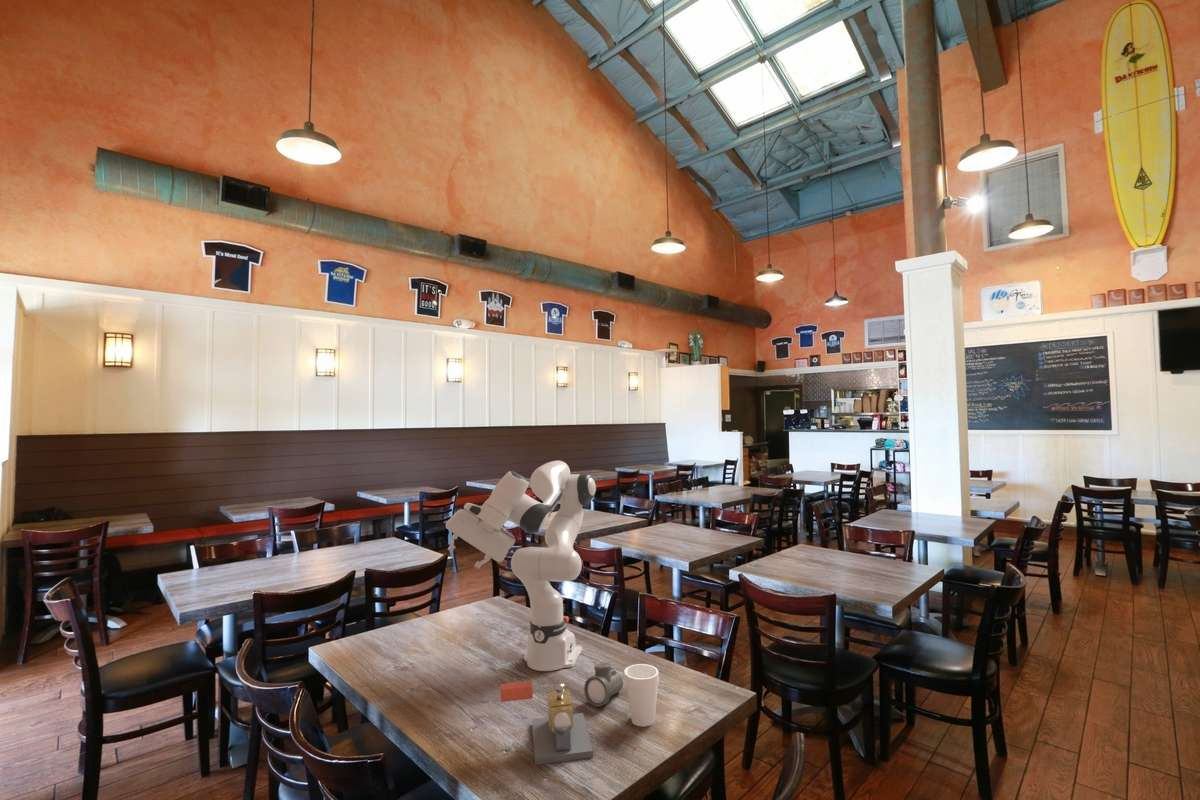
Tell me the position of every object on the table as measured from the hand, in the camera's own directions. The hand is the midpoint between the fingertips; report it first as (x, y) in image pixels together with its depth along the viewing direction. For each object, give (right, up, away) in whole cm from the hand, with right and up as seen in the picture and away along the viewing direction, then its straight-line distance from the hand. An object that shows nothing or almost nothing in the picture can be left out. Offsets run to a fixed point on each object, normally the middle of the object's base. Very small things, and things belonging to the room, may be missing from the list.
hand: (463, 559), depth 160 cm
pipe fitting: (+42, -42, 0) cm, 59 cm away
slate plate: (+30, -41, -21) cm, 55 cm away
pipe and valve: (+30, -39, -20) cm, 54 cm away
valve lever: (+23, -29, -21) cm, 43 cm away
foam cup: (+52, -41, -12) cm, 67 cm away
